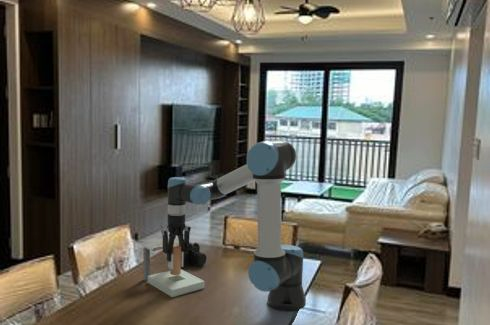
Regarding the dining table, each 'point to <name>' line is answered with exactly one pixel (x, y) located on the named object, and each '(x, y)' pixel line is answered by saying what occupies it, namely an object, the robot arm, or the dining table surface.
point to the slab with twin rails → (146, 255)
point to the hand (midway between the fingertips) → (175, 266)
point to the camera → (194, 256)
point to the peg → (176, 260)
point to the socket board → (176, 283)
